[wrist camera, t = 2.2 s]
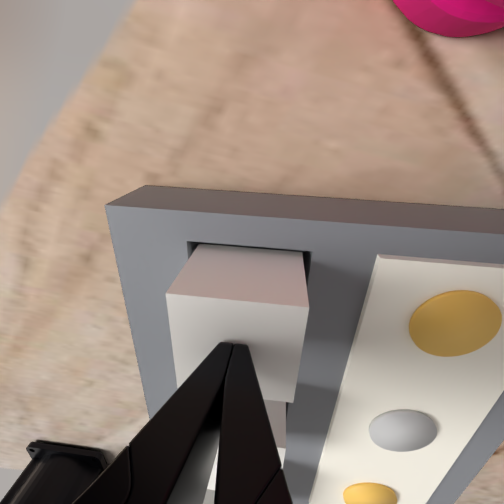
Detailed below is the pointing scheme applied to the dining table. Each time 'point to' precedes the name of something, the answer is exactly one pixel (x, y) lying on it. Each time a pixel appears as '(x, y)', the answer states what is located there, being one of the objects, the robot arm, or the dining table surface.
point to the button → (241, 312)
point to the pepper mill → (454, 16)
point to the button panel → (348, 330)
